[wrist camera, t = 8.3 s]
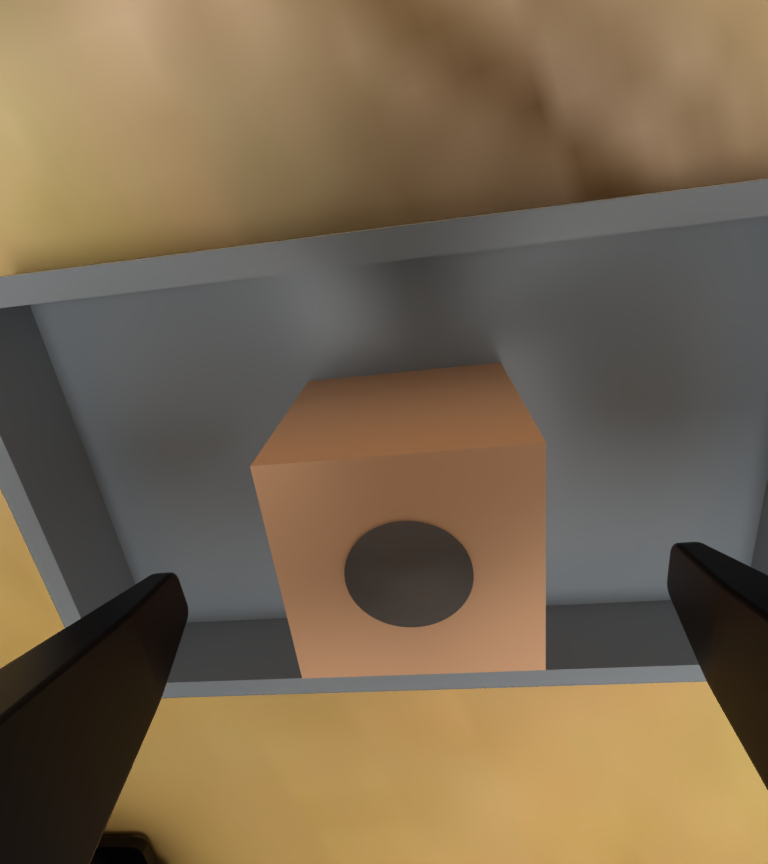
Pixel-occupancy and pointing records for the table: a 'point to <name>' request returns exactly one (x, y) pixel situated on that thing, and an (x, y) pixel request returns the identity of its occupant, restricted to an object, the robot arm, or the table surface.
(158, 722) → the table surface
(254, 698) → the table surface
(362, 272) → the tray
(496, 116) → the table surface
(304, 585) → the bored block
